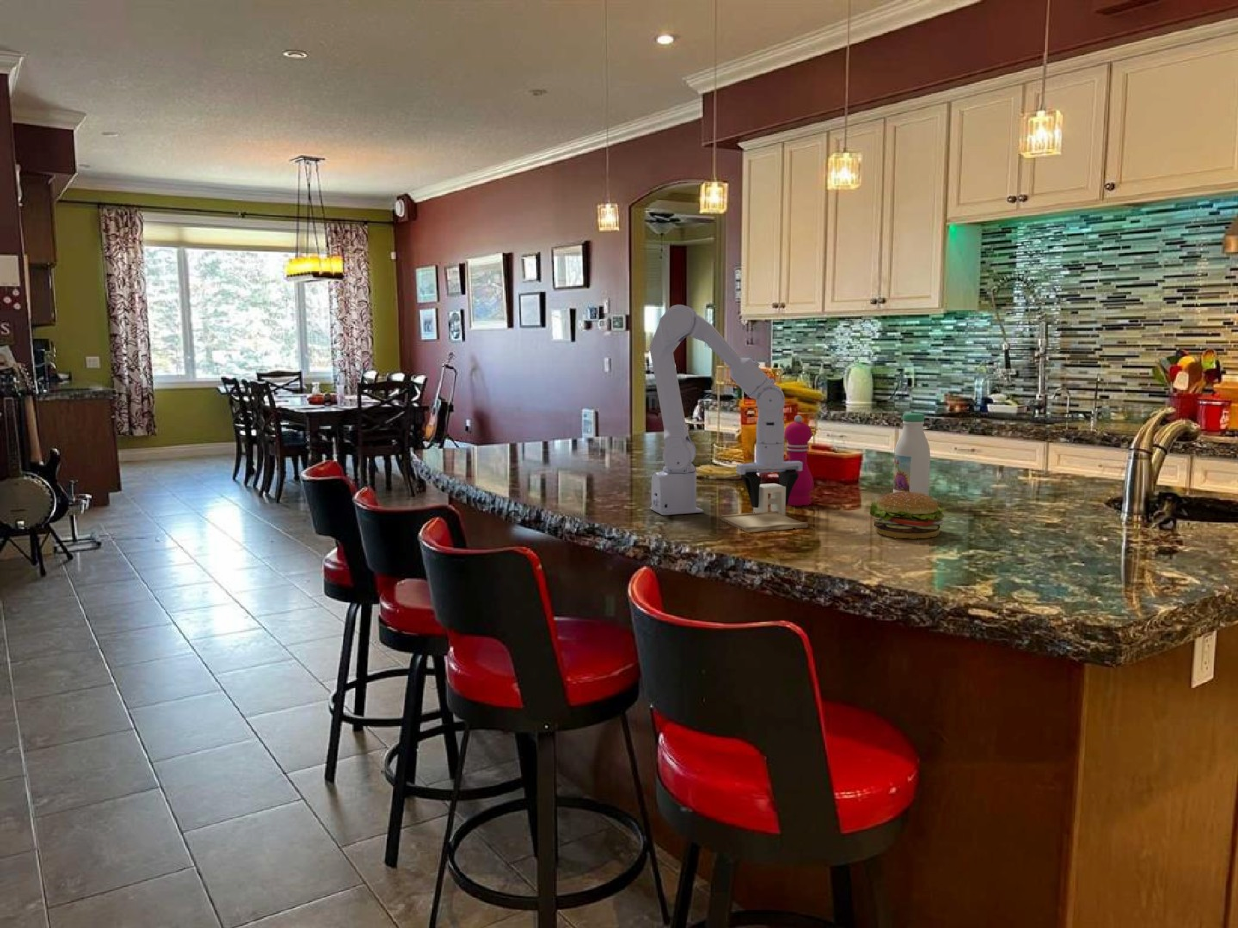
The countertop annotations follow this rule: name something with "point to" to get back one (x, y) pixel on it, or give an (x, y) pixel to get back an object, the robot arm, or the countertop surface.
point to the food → (907, 515)
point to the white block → (776, 498)
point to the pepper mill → (797, 450)
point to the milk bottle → (912, 457)
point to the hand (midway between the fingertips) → (769, 505)
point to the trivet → (762, 521)
